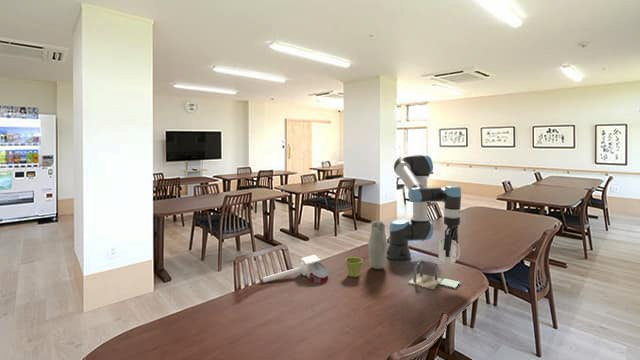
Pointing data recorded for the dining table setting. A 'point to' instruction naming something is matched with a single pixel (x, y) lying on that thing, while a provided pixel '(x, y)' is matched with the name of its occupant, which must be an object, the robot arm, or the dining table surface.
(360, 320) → the dining table surface
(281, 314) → the dining table surface
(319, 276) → the canned food
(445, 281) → the pad
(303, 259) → the white handled tool
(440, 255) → the cup
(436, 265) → the bent wire
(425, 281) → the wire board
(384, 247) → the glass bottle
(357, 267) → the plant pot
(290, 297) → the dining table surface
